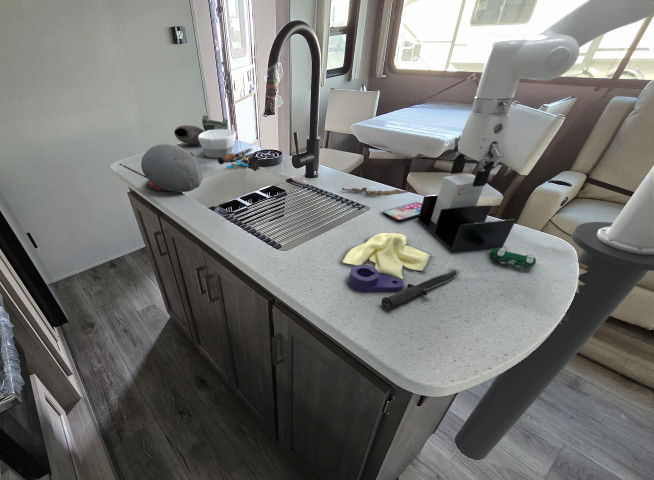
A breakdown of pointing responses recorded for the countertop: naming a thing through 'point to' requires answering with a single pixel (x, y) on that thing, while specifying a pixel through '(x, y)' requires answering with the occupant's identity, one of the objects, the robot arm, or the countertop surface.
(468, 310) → the countertop surface
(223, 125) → the toy tank
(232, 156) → the knife
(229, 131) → the bowl
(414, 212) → the smartphone
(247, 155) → the dinosaur
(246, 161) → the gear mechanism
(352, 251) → the cloth
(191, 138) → the planter
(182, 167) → the gray stone
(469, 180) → the small box
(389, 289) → the lever
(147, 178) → the incense holder
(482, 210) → the rack
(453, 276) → the knife
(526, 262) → the gaming controller
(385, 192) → the wooden twig
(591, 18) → the robot arm
